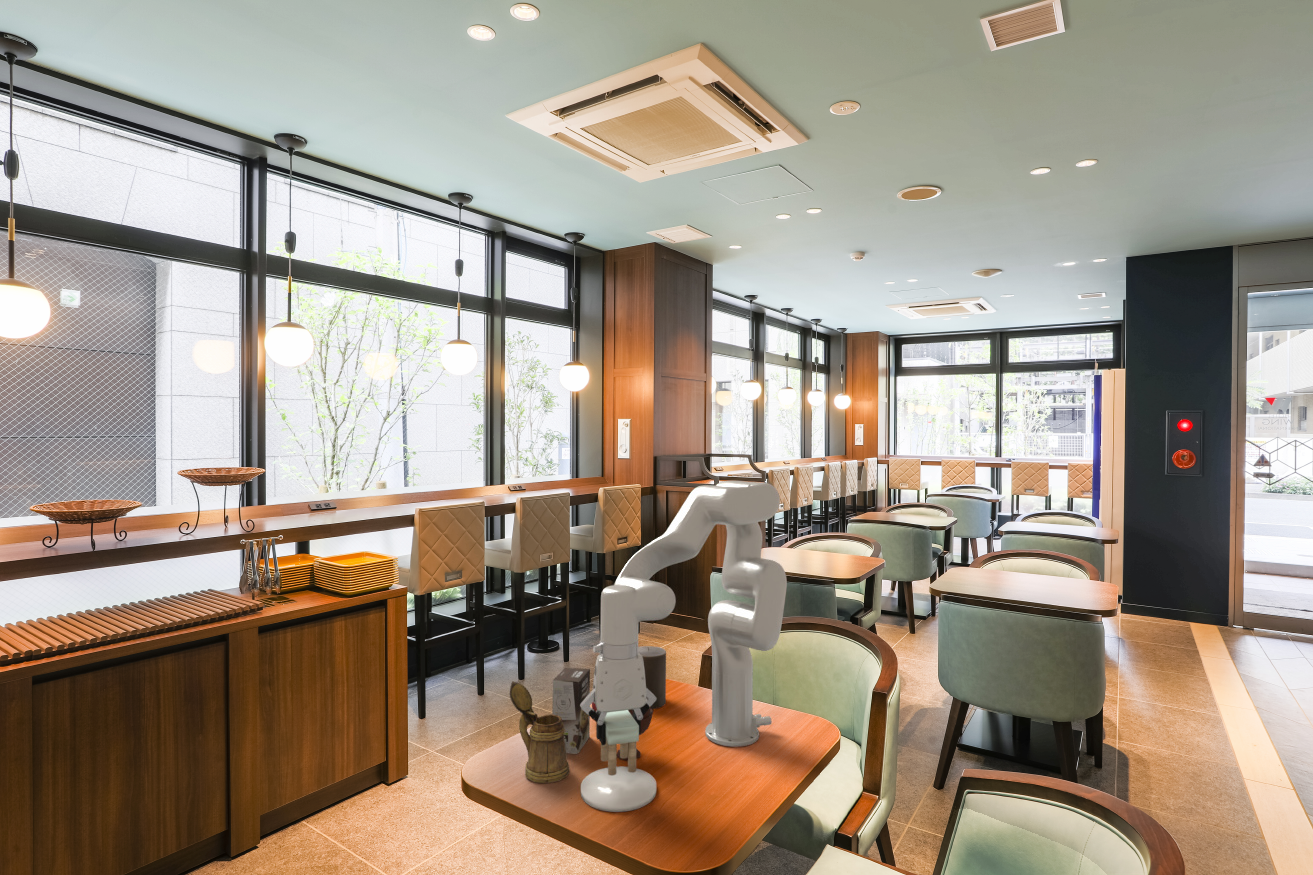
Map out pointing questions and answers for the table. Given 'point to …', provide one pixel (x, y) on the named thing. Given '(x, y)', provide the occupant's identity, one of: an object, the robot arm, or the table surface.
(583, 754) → the table surface
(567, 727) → the coffee box
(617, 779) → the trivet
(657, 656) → the pillar candle
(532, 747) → the wooden mug
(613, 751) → the mint green stool
